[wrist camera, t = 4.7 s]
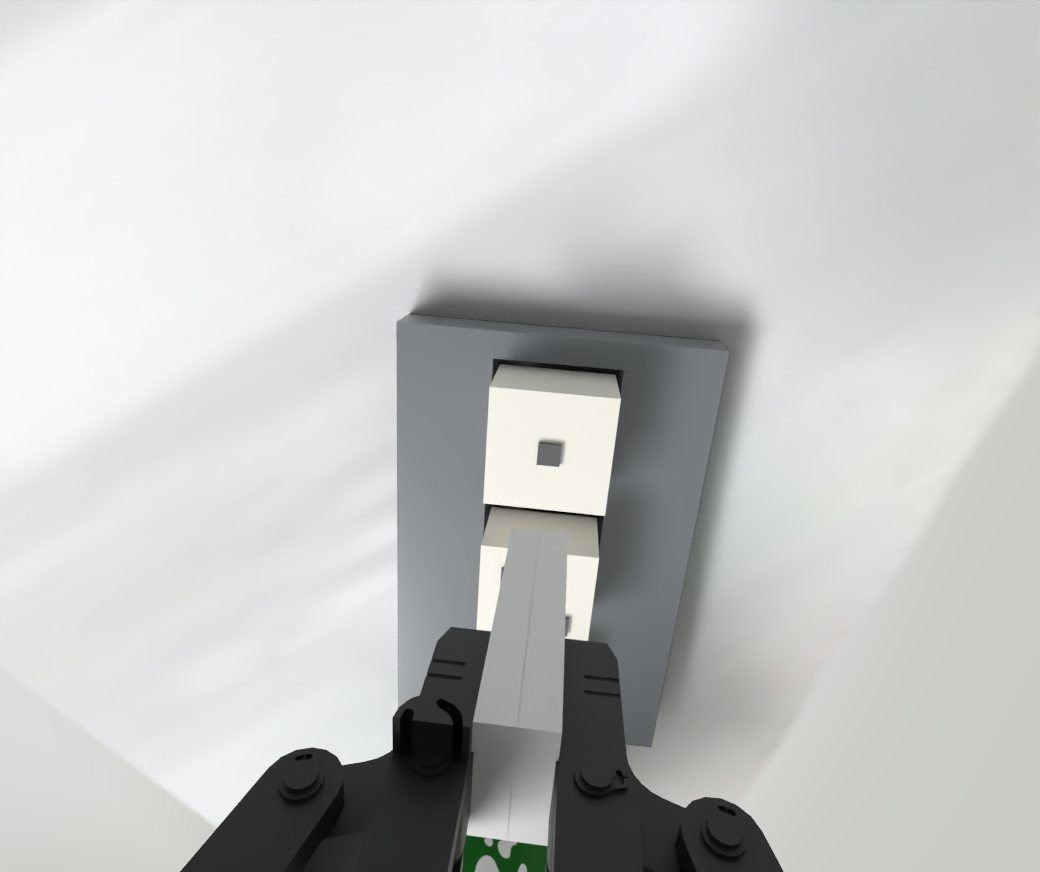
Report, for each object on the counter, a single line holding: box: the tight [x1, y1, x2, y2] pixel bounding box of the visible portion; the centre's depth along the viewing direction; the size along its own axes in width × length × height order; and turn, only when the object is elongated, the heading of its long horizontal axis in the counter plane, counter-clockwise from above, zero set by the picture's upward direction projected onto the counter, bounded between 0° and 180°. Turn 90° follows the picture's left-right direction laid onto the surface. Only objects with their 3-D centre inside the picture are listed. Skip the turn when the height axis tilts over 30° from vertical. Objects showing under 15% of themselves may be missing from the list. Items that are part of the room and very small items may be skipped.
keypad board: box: [397, 314, 730, 747], centre depth 30 cm, size 22×14×2 cm, turn 176°
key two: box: [476, 507, 599, 641], centre depth 28 cm, size 5×5×4 cm
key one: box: [483, 364, 621, 516], centre depth 25 cm, size 5×5×4 cm
